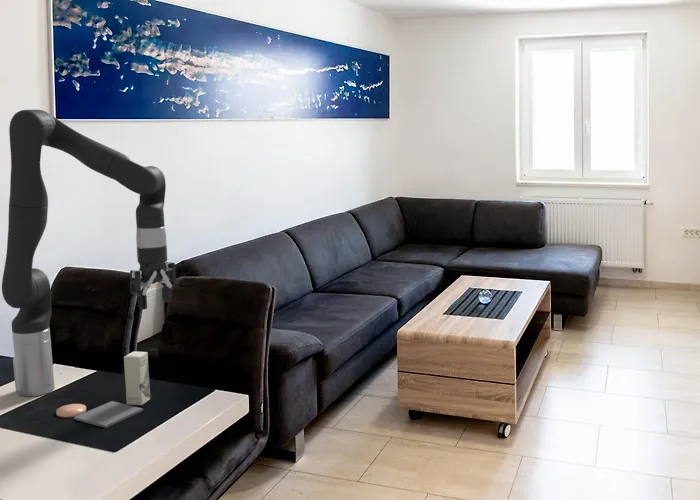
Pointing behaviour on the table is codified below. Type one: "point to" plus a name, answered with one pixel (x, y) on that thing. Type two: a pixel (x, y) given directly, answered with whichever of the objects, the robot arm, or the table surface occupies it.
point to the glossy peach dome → (71, 410)
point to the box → (137, 378)
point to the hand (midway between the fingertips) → (155, 305)
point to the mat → (108, 414)
